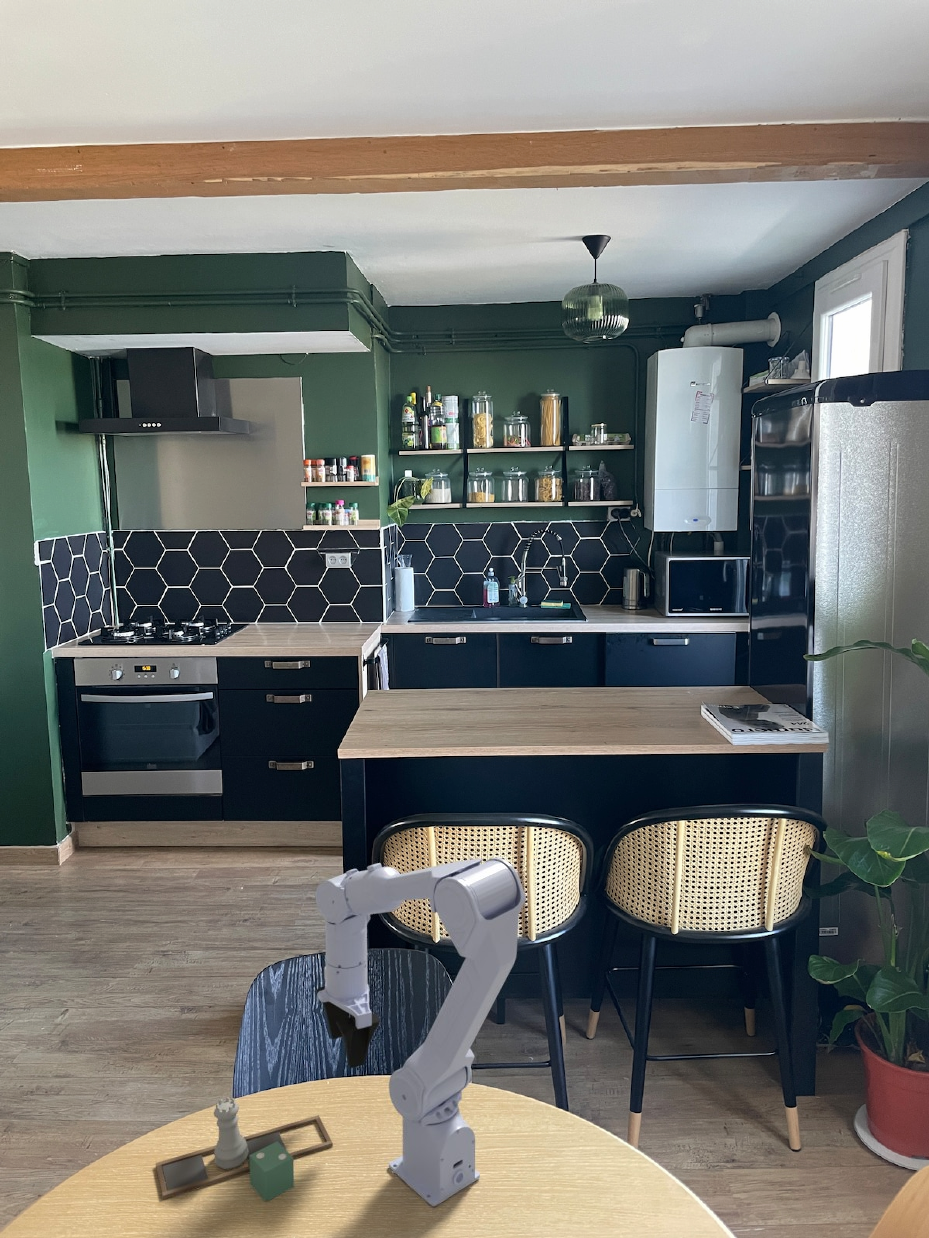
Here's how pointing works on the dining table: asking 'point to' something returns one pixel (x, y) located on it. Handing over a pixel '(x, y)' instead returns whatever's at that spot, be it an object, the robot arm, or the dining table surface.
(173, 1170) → the track board
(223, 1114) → the rook chess piece
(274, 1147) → the green die
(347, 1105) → the dining table surface
